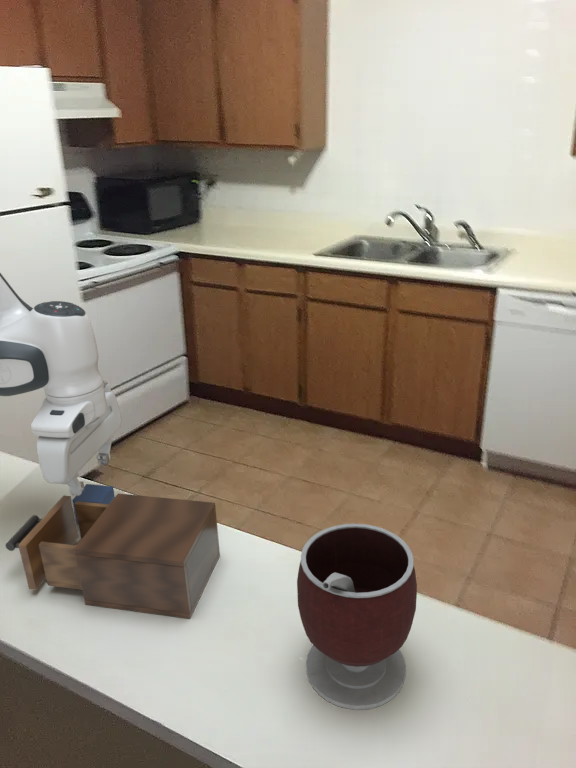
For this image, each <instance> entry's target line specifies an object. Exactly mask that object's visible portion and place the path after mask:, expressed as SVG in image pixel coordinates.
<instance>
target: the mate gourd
mask: <svg viewBox="0 0 576 768" xmlns="http://www.w3.org/2000/svg"><path fill="white" fill-rule="evenodd" d="M296 589H297V590H296V591H297V593H296V595H297V607H298V613H299V617H300V621H301V624H302V627H303V630H304V632H305V635H306V637H307V639H308V640H309V642H310V643H311V644H312V645H311V647H310V649H309V651H308V653H307V657H306V662H305V663H306V665H305V667H306V675H307V679H308V682H309V683H310V685H311V688H312V689H313V690H314V691H315V692H316V693H317V694H318V695H319V697H321V698H322V699H324V700H325V701H326V702H328V703H330V704H331V705H334V706H337V707H340V708H343V709H346V710H347V709H348V710H355V711H361V710H370V709H374V708H375V709H376V708H378V707H381V706H383V705H385V704H387V703H388V702H391V700H393V699H394V698H395V697H396V696H397V695H398V693H400V692H401V690H402V688H403V686H404V683H405V680H406V670H407V669H406V667H407V666H406V661H405V657H404V656H403V653H402V651H401V650H400V649H401V648H402V647H403V645H405V643H406V641H407V639H408V637H409V634H410V632H411V629H412V625H413V622H414V619H415V615H416V610H417V599H418V598H417V597H418V596H417V595H418V583H417V576H416V569H415V565H414V554H413V552H412V550H411V548H410V547H409V545H408V544H407V543H406V542H405V541H404V540H403V539H402V538H401V537H400V536H399V535H397V534H395V533H393V532H391V531H389V530H387V529H385V528H384V527H383V528H382V527H379V526H377V525H373V524H366V523H343V524H337V525H333V526H330V527H326V528H325V529H322V530H320V531H318V532H317V533H315V534H314V535H312V536H311V537H310V538H309V539H308V540H307V541H306V542H305V543H304V545H303V547H302V550H301V554H300V562H299V566H298V572H297V577H296Z"/></svg>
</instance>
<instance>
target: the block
mask: <svg viewBox="0 0 576 768" xmlns="http://www.w3.org/2000/svg"><path fill="white" fill-rule="evenodd" d="M84 488H85V490H84V491H83V492H82V493H81V495H80V496H75V495H74V497H73V499H71V501H72V506H73V511H74V516H75V521H76V526H79V525H78V520H77V515H76V510H75V505H74V504H75V503H76V501H80V502H90V503H100V504H110V503H111V501H112V500H113V499H114V498H115V496H116V495H115V490H114V489H115V488H114V486H112V485H103V484H101V485H100V484H93V483H85V484H84Z"/></svg>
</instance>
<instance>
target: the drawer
mask: <svg viewBox="0 0 576 768" xmlns="http://www.w3.org/2000/svg"><path fill="white" fill-rule="evenodd" d="M74 505H75V510H76V515H77V520H78V525H77V521H76V516H75V511H74V506H73V501H72V496H71V495H65V494H64V495H62V497H60V499H59V500H58V501H57V502H56V503H55V504H54V506H52V508H51V509H50V510H49V511H48V512H47V513H46V514H45V516H44V517H43V518H40V517H39V516H38V515H36V514H33V515H31V516H30V518H28V520H27V521H26V522H24V524H23V525H22V526H21V527H20V528H19V529H18V530H17V531H16V532H15V533H14V534H13V535H12V537H10V539H8V541H7V542H6V543H5V545H4V547H5V549H7V551H10V552H14V551H15V550H16V549H18V550H19V552H20V557H21V562H22V566H23V570H24V574H25V577H26V578H25V579H26V582H27V587H28V589H29V590H31V591H32V590H33V591H37V590H38V589H39V588H40V586H41V585H42V584H43V582H44V581H46V584H47V586H49V587H57V588H64V589H65V588H66V589H72V590H79V591H80V590H81V591H82V586H81V581H80V577H79V572H78V567H77V562H76V557H75V552H74V548H75V547H76V546H77V544H78V543H79V542H80V541H81V539H82V538H83V537H84V536H85V534H86V533H87V532H88V531H89V529H90V528H91V527H92V525H93V524H94V523H95V522H96V520H97V519H98V518H99V517H100V515H101V514H102V513H103V512H104V510H105V509H106V508H107V506H108V505H109V504H100V503H90V502H80V501H76V503H75V504H74ZM77 526H78V527H77ZM78 530H79V531H78ZM79 534H80V535H79ZM79 536H80V538H79ZM78 539H79V540H78ZM77 540H78V541H77ZM76 542H77V543H76ZM75 543H76V544H75Z"/></svg>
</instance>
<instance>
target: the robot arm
mask: <svg viewBox="0 0 576 768" xmlns="http://www.w3.org/2000/svg"><path fill="white" fill-rule="evenodd" d="M98 363H99V350H98V345H97V341H96V337H95V333H94V329H93V325H92V322H91V320H90V317H89V315H88V314H87V312H86V311H85V310H84V308H83V307H81V306H79V305H77V304H75V303H73V302H69V301H63V300H61V301H60V300H51V301H44V302H41V303H37V304H36V305H35V306H33V307H32V306H31V305H29V304H28V303H27V302H26V301H24V300H23V299H22V298H21V297H20V296H19V295H18V293H17V292H16V291H15V290H14V288H13V287H12V286H11V284H10V283H9V282H8V280H7V279H6V278H5V277H4V275H3V273H1V272H0V397H12V396H17V395H23V394H26V393H31V392H34V391H36V390H40V389H43V390H44V394H45V398H44V399H43V401H42V403H41V406H40V408H39V410H38V411H37V412H38V413H36V415H35V417H34V419H33V420H32V422H31V424H30V430H31V433H32V435H33V436H34V437H35V436H36V437H38V438H37V440H36V453H37V458H38V459H37V460H38V463H39V467H40V473H41V476H42V477H43V480H45V481H46V482H47V483H49V484H53V485H54V484H55V485H67V487H68V488H69V493H70V496H71V495H72V496H74V497H75V496H80V495H81V493H82V492H83V491H84V490H85V488H84V486H85V483H84V481H81V480H78V478H79V472H80V471H81V470H82V469H83V468H84V467H85V466H86V465H87V463H89V462H90V460H92V458H94V456H95V455H96V459H97V464H98V465H100V466H102V465H103V466H107V465H108V464H109V462H110V461H111V460H112V458H111V453H110V452H111V450H112V449H111V447H112V442H113V440H112V437H113V436H114V435H115V434H116V432H117V431H118V430H119V429H120V428H121V425H122V415H121V410H120V406H119V402H118V400H117V397H116V394H115V393H114V392H112V388H111V385H110V383H108V382H107V381H105V380H103V376H102V375H101V372H100V370H99V365H98Z"/></svg>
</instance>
